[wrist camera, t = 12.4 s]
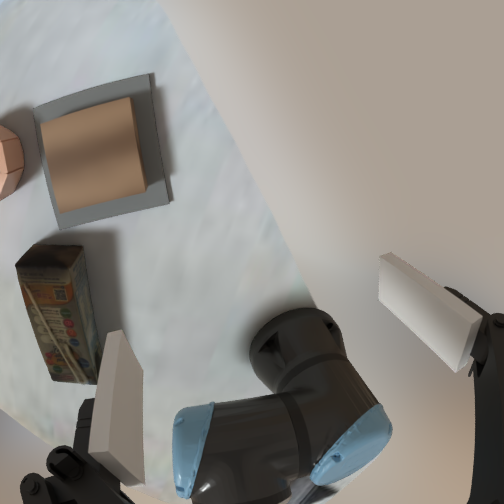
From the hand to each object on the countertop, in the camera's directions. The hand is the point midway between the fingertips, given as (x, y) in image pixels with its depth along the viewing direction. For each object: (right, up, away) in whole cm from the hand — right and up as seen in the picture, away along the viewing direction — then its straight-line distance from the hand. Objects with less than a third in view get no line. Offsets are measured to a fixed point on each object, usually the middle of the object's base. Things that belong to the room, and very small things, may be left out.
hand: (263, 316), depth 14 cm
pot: (-31, +14, +12) cm, 36 cm away
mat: (-17, +14, +16) cm, 27 cm away
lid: (-17, +14, +15) cm, 27 cm away
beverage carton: (-26, -4, +22) cm, 34 cm away
